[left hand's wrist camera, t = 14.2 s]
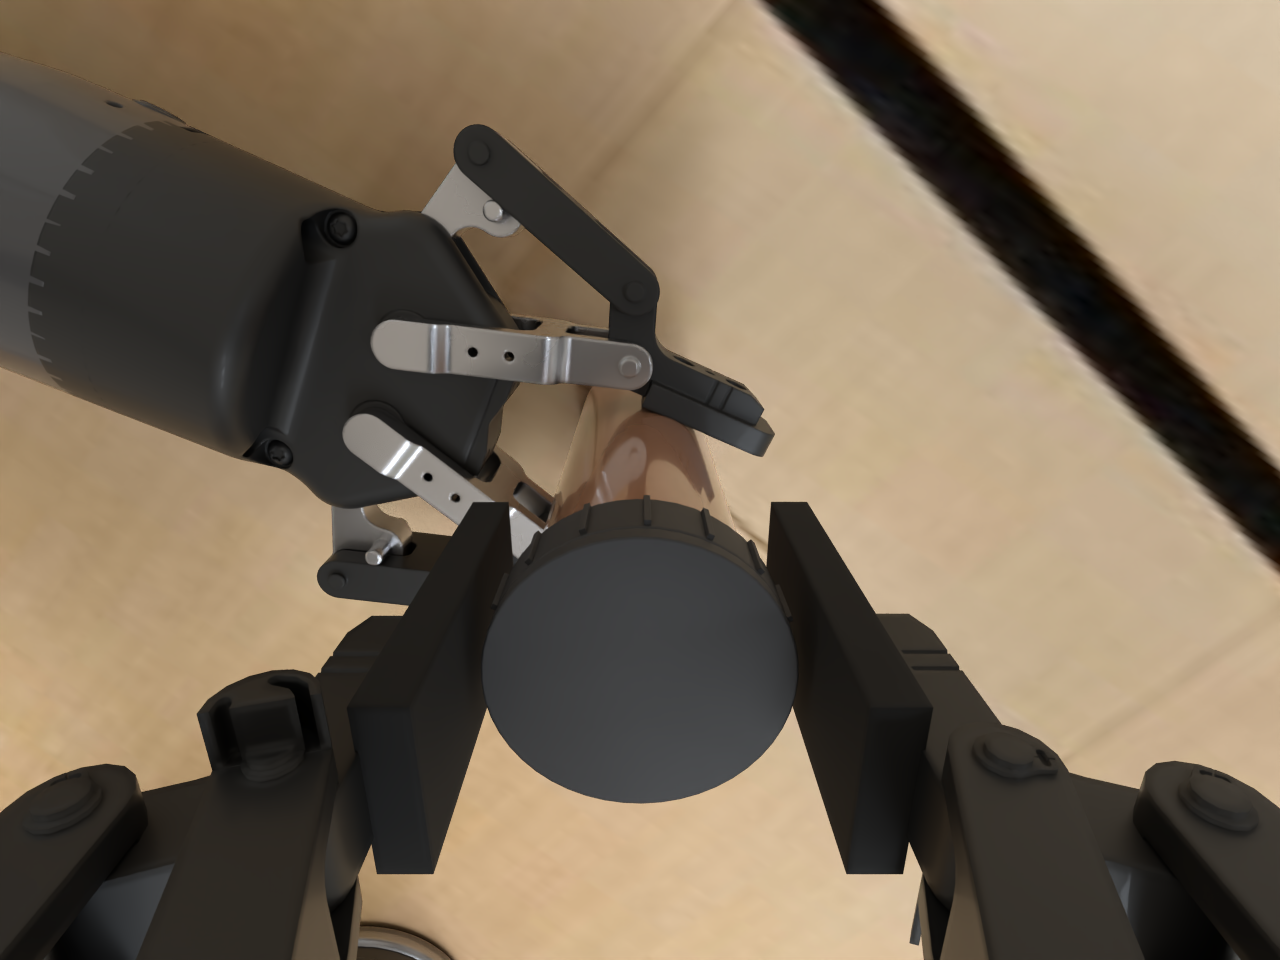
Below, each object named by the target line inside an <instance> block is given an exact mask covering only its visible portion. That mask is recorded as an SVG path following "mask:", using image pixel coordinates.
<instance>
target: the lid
mask: <svg viewBox="0 0 1280 960" xmlns="http://www.w3.org/2000/svg"><path fill="white" fill-rule="evenodd" d="M491 609H493V610H495V612H494V614H493V617H492V620H491V622H490V625H489V627H488V630H487V633H486V637H485V641H484V644H483V648H482V655H481V684H482V689H483V694H484V699H485V702H486V705H487V708H488V710H489V713H490V716H491V718H492V720H493V722H494V724H495V726H496V728H497V729H498V731H499V733H500V734H501V736H502V737H503V738H504V740H505V741H506V743H507V744H508V745H509V747H510V748H511V749H512V750H513V751H514V752H515V753H516V754H517V755H518V756H519V757H520V758H521V759H522V760H523V761H524V762H525V763H527V764H528V765H529V766H530V767H531V768H533V769H534V770H535V771H536V772H538V773H540V774H541V775H543V776H544V777H546V778H547V779H549V780H551V781H552V782H554V783H556V784H559V785H561V786H563V787H565V788H567V789H569V790H572V791H575V792H577V793H580V794H583V795H586V796H590V797H594V798H598V799H602V800H607V801H614V802H622V803H656V802H665V801H671V800H677V799H682V798H686V797H689V796H693V795H696V794H700V793H702V792H705V791H707V790H710V789H712V788H715V787H717V786H719V785H721V784H723V783H725V782H726V781H728V780H730V779H732V778H734V777H735V776H737V775H738V774H739V773H741V772H742V771H744V770H745V769H747V768H748V767H749V766H750V765H752V764H753V763H754V762H755V761H756V760H757V759H758V758H759V757H761V756H762V754H763V753H764V752H765V751H766V750H767V749H768V748H769V747H770V745H771V744H772V743H773V742H774V740H775V739H776V737H777V736H778V734H779V733H780V731H781V730H782V728H783V726H784V724H785V722H786V720H787V718H788V716H789V714H790V712H791V709H792V705H793V702H794V699H795V696H796V690H797V684H798V654H797V648H796V642H795V639H794V636H793V633H792V630H791V627H790V624H789V622H791V621H793V618H792V615H791V612H790V610H789V607H788V605H787V602H786V600H785V597H784V595H783V592H782V590H781V587H780V585H779V584H778V585H774V582H773V579H772V578H771V576H770V574H769V572H768V570H767V568H766V566H765V564H764V562H763V561H762V560H761V558H760V557H759V554H758V551H757V548H756V546H755V543H754V542H753V541H752V540H749V541H748V542H747V541H746V540H745V539H744V538H743V537H742V536H740V535H739V534H738V533H737V532H735V531H734V530H733V529H732V528H730V527H729V526H728V525H726V524H724V523H723V522H721V521H719V520H718V519H716V518H714V517H713V516H711V515H710V513H709V510H708V509H706V508H703V509H702V510H701V511H699V510H697V509H695V508H691V507H688V506H685V505H681V504H678V503H673V502H667V501H661V500H652V499H650V495H644V498H643V499H629V500H617V501H612V502H607V503H602V504H597V505H594V506H591V505H590V503H587V504H584V506H583V509H582V510H579V511H577V512H575V513H573V514H571V515H569V516H567V517H565V518H563V519H561V520H560V521H558V522H557V523H555V524H554V525H552V526H550V527H549V528H547V529H546V530H545V531H544V532H543V533H540V532H539V531H537V532H536V533H534V535H533V538H532V541H531V544H530V545H529V546H528V547H527V548H526V549H525V551H524V552H523V553H522V554H521V555H520V557H519V559H518V560H517V562H516V563H515V565H514V566H513V568H512V570H511V572H510V574H506V573H504V575H503V577H502V580H501V583H500V585H499V588H498V590H497V593H496V595H495V598H494V600H493V603H492V605H491Z"/></svg>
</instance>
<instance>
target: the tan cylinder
mask: <svg viewBox="0 0 1280 960" xmlns="http://www.w3.org/2000/svg"><path fill="white" fill-rule="evenodd" d="M644 495H650V499H652V500H661V501H667V502H673V503H678V504H681V505H685V506H688V507H691V508H695V509H697V510H699V511H701V510H702V509H703V508H706V509H708V510H709V513H710V515H711V516H713V517H714V518H716V519H718V520H719V521H721V522H723V523H724V524H726V525H728V526H729V527H730V528H732V529H733V530H734V531H735V532H736V529H735V526H734V523H733V520H732V517H731V514H730V511H729V508H728V504H727V501H726V498H725V495H724V492H723V489H722V486H721V483H720V479H719V476H718V473H717V470H716V467H715V464H714V461H713V458H712V455H711V451H710V448H709V445H708V442H707V439H706V436H705V434H704V433H702V432H699V431H697V430H695V429H692V428H690V427H688V426H686V425H683V424H681V423H679V422H677V421H675V420H673V419H670V418H668V417H665V416H663V415H660V414H658V413H656V412H653V411H651V410H649V409H646V408H644V407H642V396H641V395H639V394H637V393H634V392H632V391H630V390H622V389H613V388H605V387H596V386H592V388H591V389H590V391H589V393H588V395H587V397H586V400H585V403H584V406H583V409H582V412H581V415H580V418H579V421H578V425H577V428H576V431H575V434H574V437H573V440H572V443H571V446H570V450H569V453H568V456H567V459H566V462H565V465H564V468H563V471H562V474H561V478H560V481H559V484H558V487H557V490H556V493H555V496H554V499H553V502H552V506H551V509H550V512H549V515H548V518H547V521H546V524H545V527H544V530H543V532H544V531H545V530H546V529H547V528H549V527H550V526H552V525H554V524H555V523H557V522H558V521H560V520H561V519H563V518H565V517H567V516H569V515H571V514H573V513H575V512H577V511H579V510H582V509H583V506H584V504H587V503H590V505H591V506H594V505H597V504H602V503H607V502H612V501H617V500H629V499H643V498H644Z"/></svg>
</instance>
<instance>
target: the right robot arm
mask: <svg viewBox="0 0 1280 960" xmlns="http://www.w3.org/2000/svg"><path fill="white" fill-rule="evenodd" d="M453 150H454V159H455V162H456V163H455V165H454V166H453V168H452V169H451V170H450V172H449V173H448V175H447V176H446V178H445V179H444V181H443V182H442V183H441V185H440V186H439V188H438V189H437V191H436V192H435V193H434V195H433V196H432V198H431V199H430V201H429V202H428V204H427V205H426V206H425V208H424V209H423V211H422V212H419V211H409V210H403V211H395V212H383V211H379V210H376V209H373V208H370V207H367V206H365V205H363V204H361V203H358V202H356V201H354V200H352V199H350V198H347V197H345V196H343V195H341V194H338V193H336V192H334V191H332V190H330V189H327V188H325V187H323V186H321V185H319V184H316V183H314V182H312V181H310V180H308V179H305V178H303V177H301V176H299V175H296V174H294V173H292V172H290V171H288V170H285V169H283V168H281V167H279V166H277V165H274V164H272V163H270V162H268V161H266V160H263V159H261V158H259V157H257V156H255V155H252V154H250V153H248V152H246V151H243V150H241V149H239V148H237V147H235V146H232V145H230V144H228V143H226V142H224V141H221V140H219V139H217V138H215V137H213V136H210V135H208V134H206V133H204V132H201V131H199V130H197V129H195V128H193V127H190V126H188V125H186V123H185V122H184V121H182V120H181V119H179V118H178V117H176V116H174V115H173V114H171V113H169V112H167V111H165V110H163V109H161V108H159V107H157V106H155V105H153V104H151V103H148V102H146V101H143V100H140V101H138V100H135V99H132V100H131V99H128V98H126V97H124V96H122V95H120V94H117V93H115V92H113V91H111V90H108V89H106V88H104V87H101V86H99V85H96V84H94V83H92V82H89V81H87V80H84V79H82V78H79V77H77V76H74V75H72V74H69V73H66V72H63V71H61V70H58V69H55V68H52V67H49V66H45V65H42V64H39V63H35V62H32V61H28V60H25V59H22V58H18V57H15V56H12V55H9V54H6V53H3V52H0V367H1V368H4V369H7V370H9V371H12V372H14V373H17V374H19V375H22V376H25V377H27V378H30V379H32V380H35V381H37V382H40V383H42V384H45V385H48V386H50V387H53V388H55V389H58V390H60V391H63V392H66V393H68V394H71V395H73V396H76V397H78V398H81V399H84V400H86V401H89V402H91V403H94V404H96V405H99V406H102V407H104V408H107V409H109V410H112V411H115V412H117V413H120V414H122V415H125V416H128V417H130V418H133V419H135V420H138V421H140V422H143V423H146V424H148V425H151V426H153V427H156V428H159V429H161V430H164V431H166V432H169V433H171V434H174V435H177V436H179V437H182V438H184V439H187V440H189V441H192V442H195V443H197V444H200V445H202V446H205V447H208V448H210V449H213V450H215V451H218V452H220V453H223V454H226V455H228V456H231V457H234V458H237V459H241V460H245V461H250V462H254V463H259V464H264V465H268V466H273V467H277V468H280V469H283V470H285V471H287V472H289V473H291V474H292V475H294V476H295V477H296V478H298V479H299V480H300V481H302V482H303V483H304V484H305V485H306V486H307V487H308V488H309V489H310V490H311V491H312V492H313V493H314V494H315V495H316V496H317V497H318V498H319V499H321V500H322V501H324V502H325V503H327V504H329V505H332V535H333V554H332V556H331V557H330V558H329V559H328V560H327V561H326V562H325V563H324V564H323V565H322V566H321V567H320V569H319V570H318V573H317V580H318V583H319V585H320V587H321V588H322V590H323V591H325V592H326V593H327V594H329V595H331V596H333V597H337V598H345V599H354V600H363V601H372V602H381V603H390V604H399V605H408V606H409V605H410V604H411V602H412V600H413V599H414V597H415V595H416V594H417V592H418V591H419V589H420V587H421V586H422V584H423V582H424V581H425V579H426V578H427V576H428V574H429V573H430V571H431V569H432V568H433V566H434V565H435V563H436V561H437V560H438V558H439V556H440V555H441V553H442V552H443V550H444V548H445V547H446V545H447V543H448V542H449V540H450V539H451V537H452V536H446V535H437V534H428V533H420V532H412V531H411V529H410V527H409V526H408V523H407V521H406V520H404V519H402V518H396V517H392V516H389V515H387V514H385V513H384V512H383V511H381V510H380V508H379V507H378V506H377V504H382V503H387V502H392V501H397V500H402V499H407V498H412V497H417V496H419V497H421V498H422V499H423V500H425V501H426V502H427V503H429V504H430V505H431V506H433V507H434V508H435V509H437V510H438V511H440V512H441V513H442V514H444V515H445V516H446V517H448V518H449V519H450V520H452V521H453V522H454V523H456V524H457V525H458V526H459V524H460V522H461V521H462V519H463V518H464V516H465V514H466V513H467V511H468V509H469V508H470V506H471V505H472V503H473V502H509V511H510V525H511V539H512V553H513V566H514V565H515V563H516V562H517V560H518V559H519V557H520V555H521V554H522V553H523V552H524V551H525V549H526V548H527V547H528V546H529V545H530V544H531V541H532V538H533V535H534V533H536V532H537V531H539V532H540V533H543V530H544V527H545V524H546V521H547V518H548V515H549V512H550V509H551V506H552V502H553V499H554V498H553V497H552V496H551V495H549V494H548V493H547V492H546V491H544V490H543V489H542V488H540V487H539V486H538V485H537V484H535V483H534V482H533V481H532V480H530V479H529V478H528V477H527V476H526V474H525V473H524V470H523V468H522V467H521V466H520V465H519V463H518V462H516V461H515V460H514V459H513V458H512V457H510V456H509V455H508V454H506V453H505V452H504V451H503V450H501V449H500V448H499V447H498V446H496V443H497V440H498V438H499V435H500V433H501V424H502V413H503V406H504V404H505V402H506V401H507V400H508V398H509V397H510V396H511V395H512V393H513V392H514V391H515V389H516V388H517V387H518V385H519V384H520V382H525V383H534V384H544V385H552V384H559V383H571V384H579V385H588V386H596V387H605V388H613V389H622V390H630V391H632V392H634V393H637V394H639V395H641V396H642V407H644V408H646V409H649V410H651V411H653V412H656V413H658V414H660V415H663V416H665V417H668V418H670V419H673V420H675V421H677V422H679V423H681V424H683V425H686V426H688V427H690V428H692V429H695V430H697V431H699V432H702V433H704V434H706V435H709V436H711V437H713V438H716V439H718V440H720V441H722V442H725V443H727V444H729V445H732V446H734V447H736V448H739V449H741V450H743V451H745V452H748V453H750V454H753V455H755V456H759V457H763V456H764V454H765V452H766V450H767V448H768V446H769V444H770V443H771V441H772V439H773V437H774V435H775V433H774V432H773V430H772V429H771V427H770V426H769V424H768V423H767V421H766V420H765V419H763V418H762V417H761V415H762V413H763V411H764V408H763V407H762V405H761V404H760V403H759V401H758V400H757V398H756V397H755V396H754V395H753V394H752V393H751V392H750V391H749V389H748V388H747V387H746V386H745V385H744V384H742V383H740V382H738V381H735V380H733V379H731V378H729V377H726V376H724V375H722V374H720V373H717V372H715V371H712V370H711V369H709V368H706V367H704V366H702V365H700V364H697V363H695V362H693V361H691V360H689V359H686V358H684V357H682V356H680V355H677V354H675V353H673V352H671V351H669V350H667V349H666V348H664V347H663V346H662V345H661V344H660V342H659V341H658V339H657V337H656V335H655V324H656V310H657V302H658V299H659V295H660V288H659V284H658V281H657V278H656V275H655V273H654V272H653V270H652V269H651V268H650V267H649V266H648V265H647V264H645V263H644V262H643V261H642V260H641V259H640V258H639V257H638V256H637V255H636V254H634V253H633V252H632V251H631V250H630V249H629V248H628V247H627V246H626V245H624V244H623V243H622V242H621V241H620V240H619V239H618V238H617V237H616V236H615V235H613V234H612V233H611V232H610V231H609V230H608V229H607V228H606V227H605V226H603V225H602V224H601V223H600V222H599V221H598V220H597V219H596V218H595V217H594V216H592V215H591V214H590V213H589V212H588V211H587V210H586V209H585V208H584V207H582V206H581V205H580V204H579V203H578V202H577V201H576V200H575V199H574V198H573V197H571V196H570V195H569V194H568V193H567V192H566V191H565V190H564V189H563V188H561V187H560V186H559V185H558V184H557V183H556V182H555V181H554V180H553V179H552V178H550V177H549V176H548V175H547V174H546V173H545V172H544V171H543V170H542V169H540V168H539V167H538V166H537V165H536V164H535V163H534V162H533V161H532V160H530V159H529V158H528V157H527V156H526V155H525V154H524V153H523V152H522V151H521V150H519V149H518V148H517V147H516V146H515V145H514V144H513V143H511V142H510V141H509V140H507V139H506V138H505V137H503V136H502V135H500V134H499V133H497V132H496V131H494V130H493V129H491V128H489V127H487V126H485V125H480V124H474V125H470V126H468V127H466V128H464V129H463V130H462V131H461V132H460V133H459V134H458V136H457V138H456V140H455V143H454V149H453ZM471 228H479V229H481V230H483V231H485V232H486V233H488V234H489V235H492V236H495V237H512V236H515V235H517V234H519V233H520V232H521V231H522V230H523V229H524V228H526V229H527V230H528V231H529V232H530V233H531V234H533V235H534V236H535V237H536V238H537V239H538V240H540V241H541V242H542V243H543V244H544V245H545V246H546V247H548V248H549V249H550V250H551V251H552V252H553V253H554V254H556V255H557V256H558V257H559V258H560V259H561V260H562V261H564V262H565V263H566V264H567V265H568V266H569V267H570V268H572V269H573V270H574V271H575V272H576V273H577V274H578V275H580V276H581V277H582V278H583V279H584V280H585V281H586V282H588V283H589V284H590V285H591V286H592V287H593V288H594V289H596V290H597V291H598V292H599V293H600V294H601V295H602V296H604V297H605V298H606V299H607V300H608V301H609V302H610V314H609V328H606V327H598V326H590V325H582V324H576V323H572V322H570V321H566V320H560V319H552V318H544V317H536V316H528V315H520V314H512V313H509V312H508V311H507V309H506V308H505V306H504V304H503V303H502V301H501V300H500V298H499V296H498V295H497V293H496V292H495V290H494V289H493V287H492V285H491V284H490V282H489V281H488V279H487V277H486V276H485V274H484V273H483V271H482V270H481V268H480V266H479V265H478V263H477V262H476V260H475V258H474V257H473V255H472V254H471V252H470V250H469V249H468V247H467V246H466V244H465V243H464V241H463V239H462V238H461V235H462V234H463V233H464V232H465V231H467V230H469V229H471ZM457 494H458V495H457ZM356 960H451V959H450V958H449V957H448V956H447V955H446V954H445V953H443V952H442V951H441V950H440V949H438V948H437V947H435V946H434V945H432V944H431V943H429V942H427V941H425V940H423V939H421V938H419V937H416V936H414V935H412V934H409V933H406V932H402V931H398V930H394V929H389V928H383V927H371V926H360V929H359V938H358V948H357V958H356Z"/></svg>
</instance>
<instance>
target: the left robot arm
mask: <svg viewBox="0 0 1280 960" xmlns="http://www.w3.org/2000/svg"><path fill="white" fill-rule="evenodd" d="M512 568H513V553H512V539H511V525H510V511H509V502H473V503H472V505H471V506H470V508H469V509H468V511H467V513H466V514H465V516H464V518H463V519H462V521H461V522H460V524H459V526H458V527H457V529H456V530H455V532H454V534H453V535H452V537H451V539H450V540H449V542H448V543H447V545H446V547H445V548H444V550H443V552H442V553H441V555H440V556H439V558H438V560H437V561H436V563H435V565H434V566H433V568H432V569H431V571H430V573H429V574H428V576H427V578H426V579H425V581H424V582H423V584H422V586H421V587H420V589H419V591H418V592H417V594H416V595H415V597H414V599H413V600H412V602H411V604H410V605H409V607H408V608H407V610H406V612H405V613H404V615H403V616H371V617H369V618H368V619H367V620H365V621H364V622H362V623H361V624H359V625H358V626H356V627H355V628H354V629H352V630H351V631H349V632H348V633H347V634H346V635H345V637H344V638H343V640H342V641H341V642H340V644H339V645H338V646H337V648H336V649H335V651H334V652H333V656H330V657H329V659H328V660H327V662H326V663H325V664H324V666H323V667H322V668H321V673H318V674H317V675H316V677H314V676H313V675H311V674H310V673H307V672H302V671H298V670H294V669H292V670H272V671H268V672H264V673H260V674H256V675H252V676H249V677H246V678H244V679H242V680H240V681H237V682H235V683H233V684H231V685H228V686H226V687H225V688H224V689H222V690H221V691H219V692H218V693H217V694H215V695H214V696H212V697H211V698H209V699H208V700H207V702H206V703H205V704H204V705H203V707H202V708H201V709H200V710H199V712H198V713H197V717H198V721H199V724H200V728H201V731H202V735H203V739H204V742H205V746H206V749H207V753H208V757H209V760H210V764H211V767H212V773H211V775H210V776H207V777H204V778H200V779H197V780H193V781H189V782H184V783H180V784H175V785H171V786H166V787H162V788H158V789H153V790H149V791H144V792H141V790H140V787H139V784H138V781H137V778H136V775H135V774H134V773H133V772H131V771H130V770H129V769H128V768H126V767H125V766H119V765H111V764H102V765H95V766H89V767H82V768H79V769H76V770H73V771H70V772H68V773H64V774H61V775H59V776H56V777H54V778H52V779H50V780H48V781H46V782H44V783H42V784H40V785H39V786H37V787H35V788H33V789H31V790H29V791H27V792H26V793H25V794H23V795H22V796H21V797H19V798H18V799H17V800H16V801H14V802H13V803H12V804H10V805H9V806H8V807H6V808H5V809H4V810H3V811H2V812H1V813H0V960H356V958H357V948H358V938H359V929H360V919H361V909H362V896H361V889H360V884H359V878H358V873H359V871H360V869H361V867H362V864H363V862H364V860H365V857H366V855H367V853H368V851H369V848H370V846H371V844H372V849H373V855H374V860H375V866H376V871H377V874H434V871H435V868H436V865H437V861H438V858H439V855H440V852H441V849H442V846H443V843H444V840H445V837H446V833H447V830H448V827H449V824H450V821H451V818H452V815H453V812H454V808H455V805H456V802H457V799H458V796H459V793H460V790H461V787H462V784H463V780H464V777H465V774H466V771H467V768H468V765H469V762H470V759H471V756H472V752H473V749H474V746H475V743H476V740H477V737H478V734H479V731H480V728H481V724H482V721H483V718H484V715H485V712H486V709H487V705H486V702H485V699H484V694H483V689H482V684H481V655H482V648H483V644H484V641H485V637H486V633H487V630H488V627H489V625H490V622H491V620H492V617H493V614H494V612H495V610H493V609H491V605H492V603H493V600H494V598H495V595H496V593H497V590H498V588H499V585H500V583H501V580H502V577H503V575H504V573H506V574H510V572H511V570H512ZM766 568H767V570H768V572H769V574H770V576H771V578H772V579H773V582H774V585H778V584H779V585H780V587H781V590H782V592H783V595H784V597H785V600H786V602H787V605H788V607H789V610H790V612H791V615H792V618H793V621H791V622H789V624H790V627H791V630H792V633H793V636H794V639H795V642H796V648H797V654H798V684H797V690H796V696H795V699H794V702H793V705H792V706H793V709H794V712H795V715H796V718H797V721H798V724H799V728H800V731H801V734H802V737H803V740H804V743H805V746H806V749H807V752H808V756H809V759H810V762H811V765H812V768H813V771H814V774H815V777H816V780H817V784H818V787H819V790H820V793H821V796H822V799H823V802H824V805H825V808H826V812H827V815H828V818H829V821H830V824H831V827H832V830H833V833H834V836H835V840H836V843H837V846H838V849H839V852H840V855H841V858H842V861H843V865H844V868H845V871H846V874H903V871H904V866H905V860H906V855H907V849H908V844H909V843H910V845H911V847H912V849H913V852H914V854H915V856H916V859H917V861H918V863H919V865H920V868H921V870H922V872H923V873H922V878H921V884H920V889H919V894H918V899H917V904H916V909H915V914H914V919H913V924H912V930H911V937H910V943H911V944H915V945H919V941H920V937H922V946H923V956H924V960H1280V808H1279V807H1277V806H1276V805H1275V804H1274V803H1272V802H1271V801H1270V800H1268V799H1267V798H1266V797H1264V796H1263V795H1262V794H1261V793H1259V792H1258V791H1257V790H1255V789H1254V788H1252V787H1250V786H1248V785H1246V784H1244V783H1243V782H1241V781H1239V780H1237V779H1235V778H1233V777H1231V776H1229V775H1227V774H1225V773H1222V772H1220V771H1217V770H1213V769H1211V768H1208V767H1205V766H1202V765H1198V764H1191V763H1185V762H1178V761H1171V762H1163V763H1156V764H1155V765H1153V766H1152V767H1151V768H1150V769H1148V770H1147V771H1146V772H1145V775H1144V778H1143V781H1142V784H1141V787H1140V789H1135V788H1131V787H1126V786H1122V785H1118V784H1113V783H1109V782H1104V781H1100V780H1095V779H1091V778H1087V777H1083V776H1080V775H1076V774H1073V773H1069V772H1068V769H1067V768H1066V767H1065V765H1064V764H1063V762H1062V761H1061V759H1060V758H1059V756H1058V755H1057V754H1056V753H1055V752H1054V751H1053V750H1051V749H1050V748H1049V747H1048V746H1046V745H1045V744H1044V743H1043V742H1041V741H1040V740H1039V739H1037V738H1035V737H1033V736H1031V735H1029V734H1027V733H1025V732H1023V731H1021V730H1019V729H1016V728H1012V727H1009V726H1005V725H1002V724H1001V723H1000V721H999V720H998V719H997V717H996V716H995V715H994V713H993V712H992V711H991V709H990V708H989V706H988V705H987V704H986V702H985V701H984V700H983V698H982V697H981V696H980V694H979V693H978V691H977V690H976V689H975V687H974V686H973V685H972V683H971V682H970V681H969V679H968V678H967V676H966V675H965V674H964V672H963V671H962V670H959V665H958V664H957V663H956V661H955V660H954V659H953V657H952V656H951V655H950V654H947V649H946V648H945V646H944V645H943V644H942V642H941V641H940V640H939V638H938V637H937V635H936V634H935V633H934V631H933V630H931V629H930V628H928V627H927V626H926V625H924V624H923V623H921V622H920V621H918V620H917V619H915V618H914V617H912V616H911V615H910V614H876V613H875V612H874V610H873V608H872V607H871V605H870V604H869V602H868V600H867V599H866V597H865V595H864V594H863V592H862V591H861V589H860V587H859V586H858V584H857V582H856V581H855V579H854V578H853V576H852V574H851V573H850V571H849V569H848V568H847V566H846V565H845V563H844V561H843V560H842V558H841V556H840V555H839V553H838V552H837V550H836V548H835V547H834V545H833V543H832V542H831V540H830V539H829V537H828V535H827V534H826V532H825V530H824V529H823V527H822V526H821V524H820V522H819V521H818V519H817V517H816V516H815V514H814V513H813V511H812V509H811V508H810V506H809V505H808V503H807V502H771V511H770V525H769V539H768V553H767V566H766Z"/></svg>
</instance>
